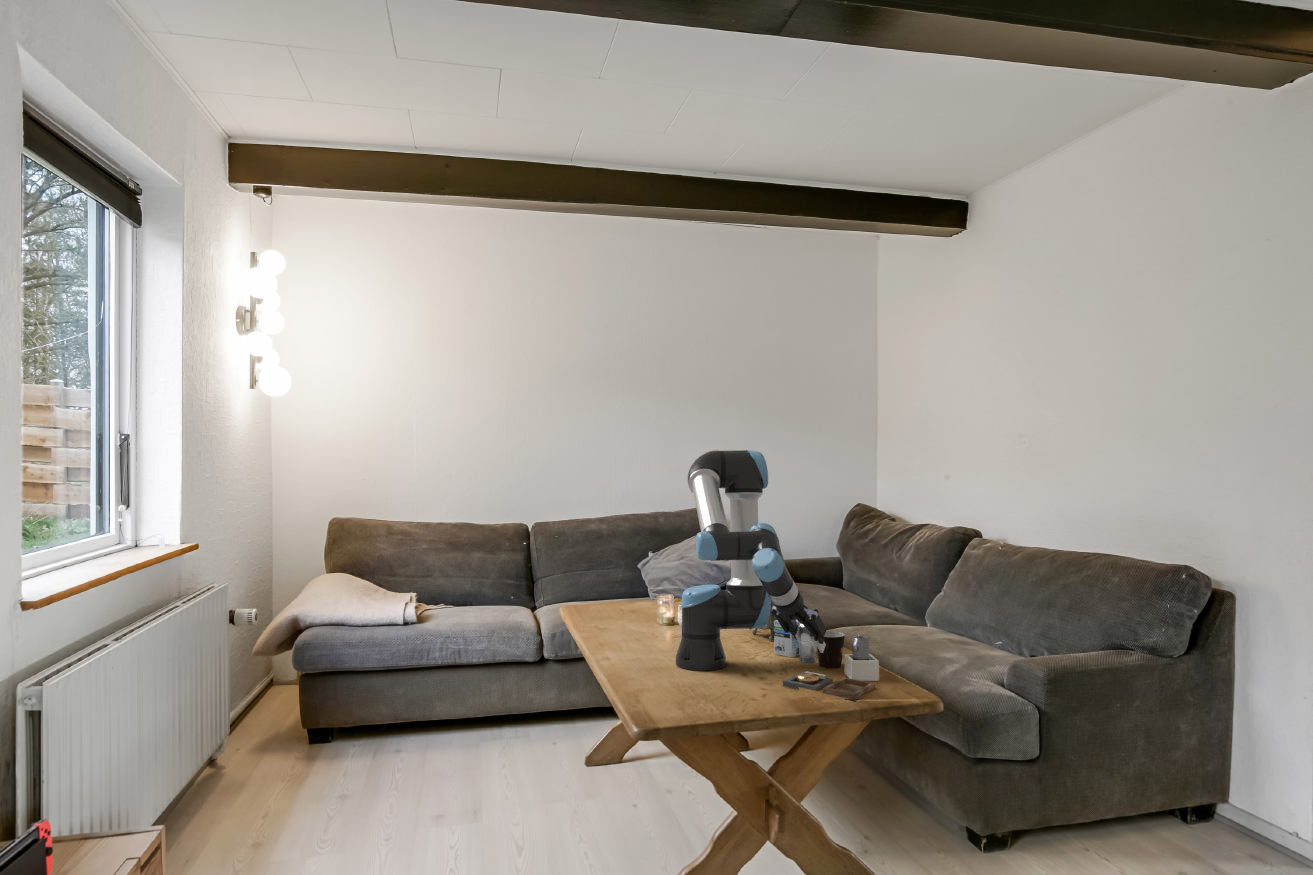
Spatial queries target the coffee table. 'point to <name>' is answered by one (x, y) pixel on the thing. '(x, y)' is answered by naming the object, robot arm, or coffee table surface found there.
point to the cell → (807, 646)
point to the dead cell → (860, 647)
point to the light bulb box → (785, 642)
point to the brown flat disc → (808, 678)
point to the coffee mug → (832, 650)
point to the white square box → (862, 668)
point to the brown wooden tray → (849, 688)
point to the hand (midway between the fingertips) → (814, 646)
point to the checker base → (795, 684)
